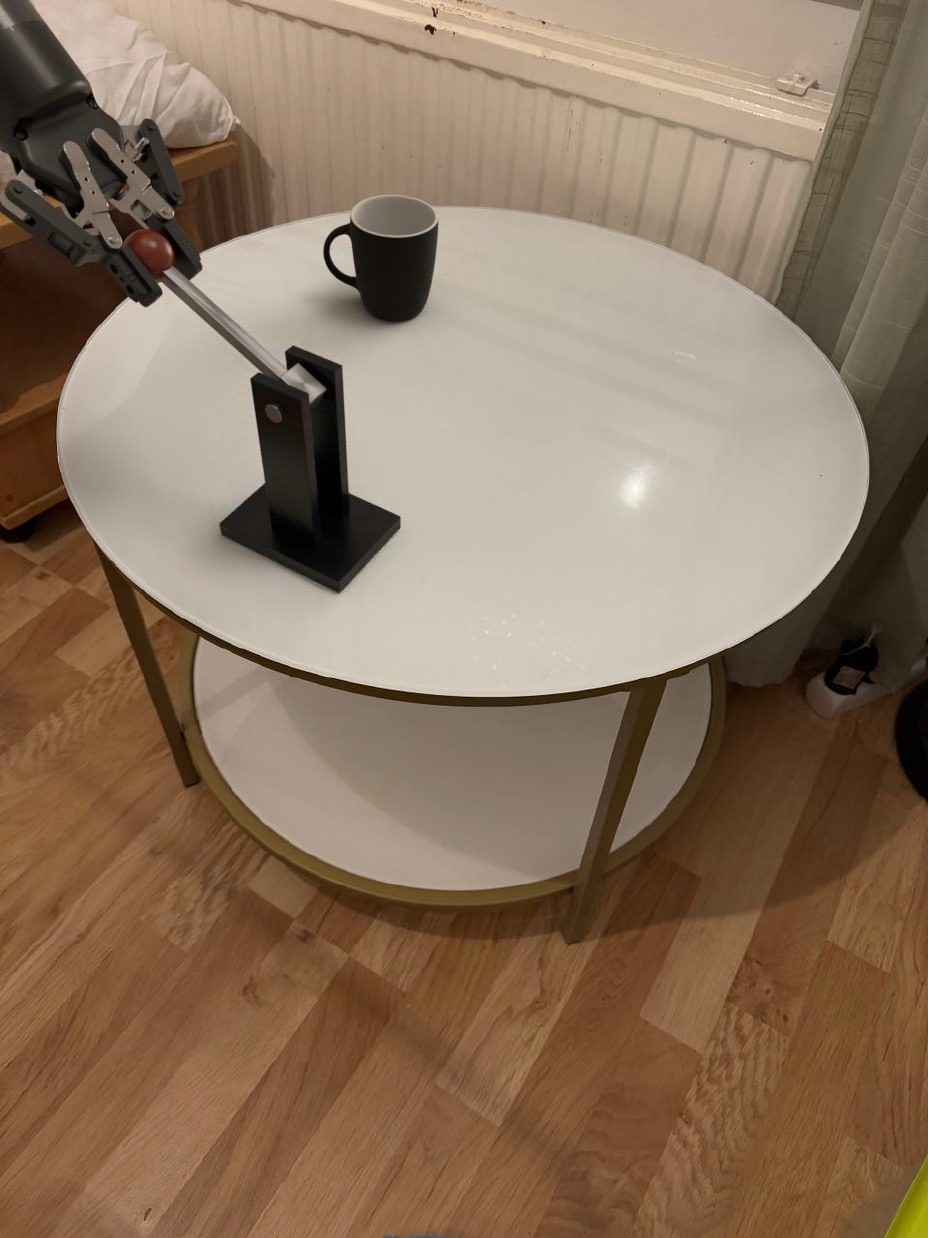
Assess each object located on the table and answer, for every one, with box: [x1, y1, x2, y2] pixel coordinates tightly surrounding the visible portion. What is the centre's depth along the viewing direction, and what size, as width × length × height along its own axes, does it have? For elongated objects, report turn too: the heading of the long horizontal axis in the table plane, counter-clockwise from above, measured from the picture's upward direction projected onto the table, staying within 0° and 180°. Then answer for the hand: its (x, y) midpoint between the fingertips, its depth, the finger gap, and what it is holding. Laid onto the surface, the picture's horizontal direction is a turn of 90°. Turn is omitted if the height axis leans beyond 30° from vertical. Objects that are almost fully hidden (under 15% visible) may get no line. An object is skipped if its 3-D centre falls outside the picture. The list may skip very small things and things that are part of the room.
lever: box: [122, 228, 327, 413], centre depth 65 cm, size 17×4×4 cm, turn 60°
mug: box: [322, 194, 439, 322], centre depth 95 cm, size 12×9×10 cm
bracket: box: [218, 345, 402, 594], centre depth 70 cm, size 12×9×16 cm
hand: (174, 286), depth 65 cm, fingers closed on lever, 3 cm apart
